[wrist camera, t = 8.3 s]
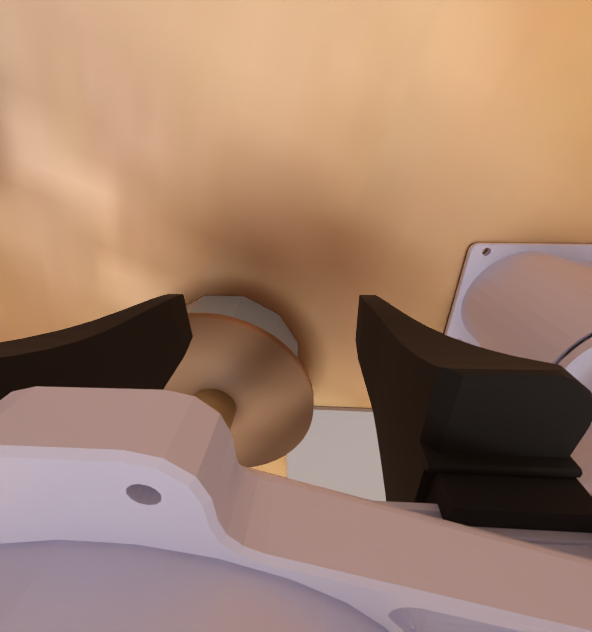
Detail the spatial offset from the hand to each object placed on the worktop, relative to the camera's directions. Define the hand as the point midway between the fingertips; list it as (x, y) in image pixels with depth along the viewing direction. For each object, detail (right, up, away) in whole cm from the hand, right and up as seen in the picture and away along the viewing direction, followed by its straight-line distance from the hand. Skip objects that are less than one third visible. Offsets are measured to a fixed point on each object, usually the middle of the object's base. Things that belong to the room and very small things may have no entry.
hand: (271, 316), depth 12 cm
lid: (-5, -6, +9) cm, 12 cm away
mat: (+9, -16, +19) cm, 26 cm away
